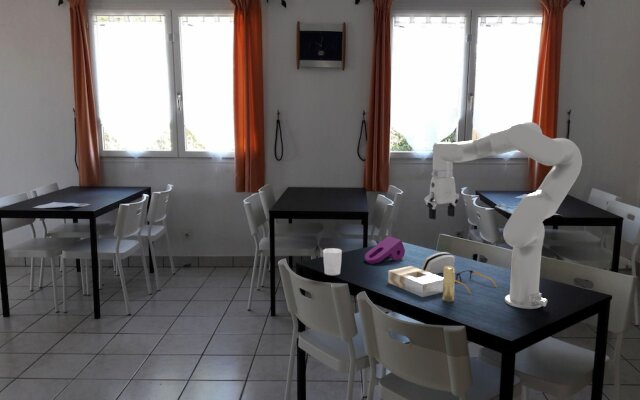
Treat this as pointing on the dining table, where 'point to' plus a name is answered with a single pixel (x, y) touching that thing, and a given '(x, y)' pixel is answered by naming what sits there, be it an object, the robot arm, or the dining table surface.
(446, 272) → the brass pin
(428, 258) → the white black arched block
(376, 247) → the mounting bracket
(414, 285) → the gray notched block
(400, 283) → the notched wooden block
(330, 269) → the white cup
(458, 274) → the eyeglasses
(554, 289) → the dining table surface
